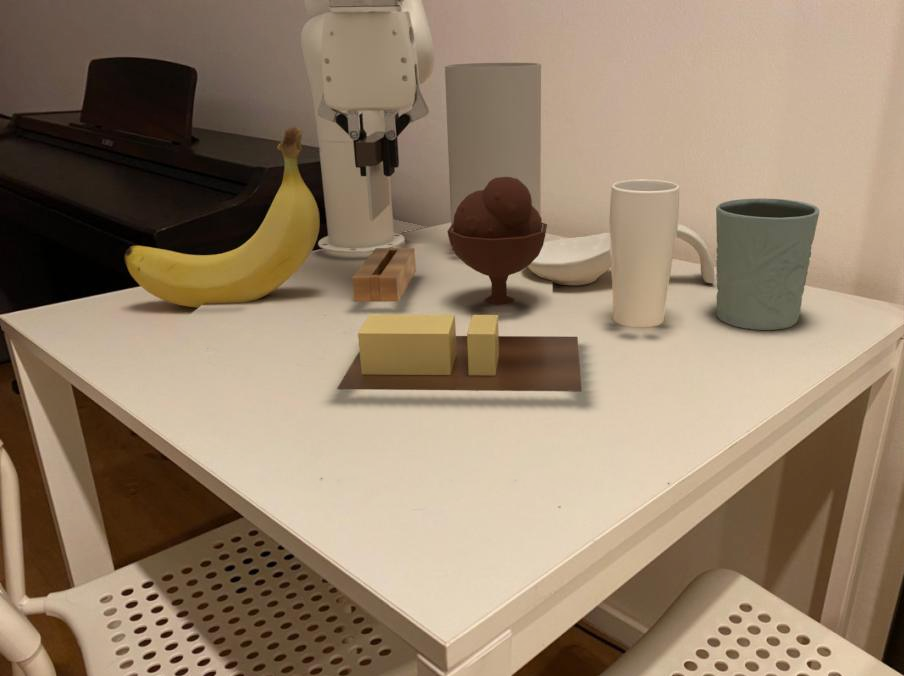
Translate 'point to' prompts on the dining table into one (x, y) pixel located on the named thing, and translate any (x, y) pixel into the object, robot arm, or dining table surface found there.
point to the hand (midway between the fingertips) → (377, 173)
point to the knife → (374, 172)
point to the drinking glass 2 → (642, 249)
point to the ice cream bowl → (498, 233)
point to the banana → (239, 250)
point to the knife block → (384, 274)
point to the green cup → (763, 261)
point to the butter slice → (483, 345)
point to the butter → (407, 344)
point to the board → (517, 369)
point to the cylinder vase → (493, 127)
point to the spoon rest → (598, 258)
